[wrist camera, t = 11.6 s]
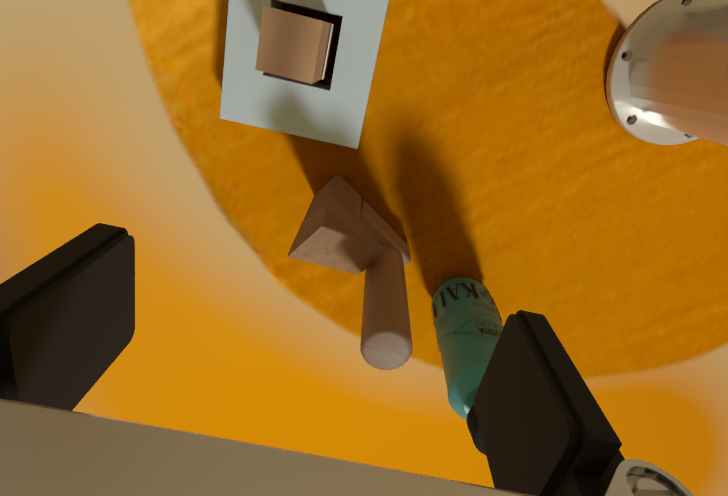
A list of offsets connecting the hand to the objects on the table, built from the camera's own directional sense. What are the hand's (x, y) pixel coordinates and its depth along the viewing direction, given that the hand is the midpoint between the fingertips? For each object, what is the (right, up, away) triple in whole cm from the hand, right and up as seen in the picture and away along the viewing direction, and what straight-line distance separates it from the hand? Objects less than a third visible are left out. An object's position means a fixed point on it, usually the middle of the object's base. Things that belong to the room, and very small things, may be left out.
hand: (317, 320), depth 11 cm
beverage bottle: (+11, -3, +38) cm, 40 cm away
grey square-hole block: (-4, +19, +28) cm, 34 cm away
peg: (-4, +19, +28) cm, 34 cm away
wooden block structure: (+1, +5, +35) cm, 35 cm away
